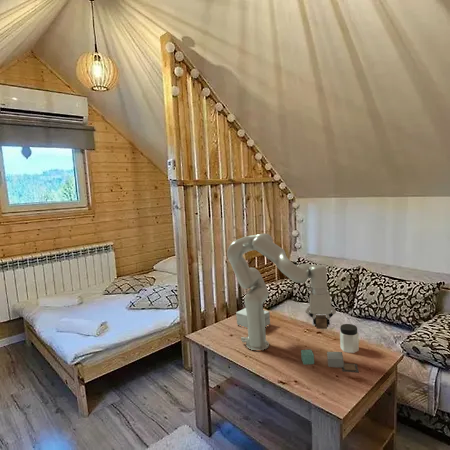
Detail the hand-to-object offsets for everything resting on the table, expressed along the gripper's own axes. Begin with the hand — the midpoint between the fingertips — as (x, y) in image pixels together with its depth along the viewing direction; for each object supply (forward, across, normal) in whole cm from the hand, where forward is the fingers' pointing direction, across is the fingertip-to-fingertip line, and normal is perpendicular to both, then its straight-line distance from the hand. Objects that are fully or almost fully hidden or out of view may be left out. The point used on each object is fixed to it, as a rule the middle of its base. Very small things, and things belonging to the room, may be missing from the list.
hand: (321, 325), depth 163 cm
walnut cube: (+1, 0, 0) cm, 1 cm away
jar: (+17, +13, +9) cm, 23 cm away
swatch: (+16, +11, -10) cm, 22 cm away
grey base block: (+16, +5, -6) cm, 18 cm away
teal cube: (+16, -8, -6) cm, 19 cm away
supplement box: (+16, -41, +34) cm, 55 cm away
